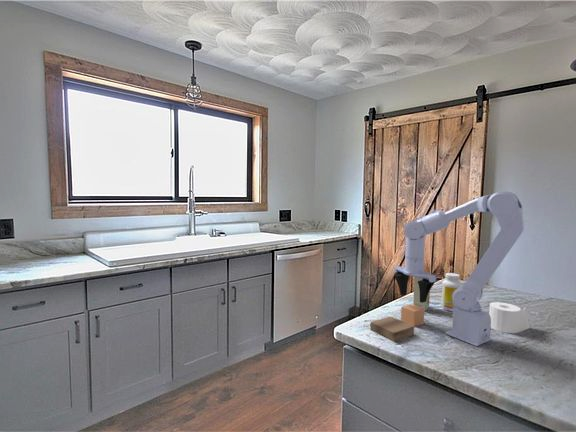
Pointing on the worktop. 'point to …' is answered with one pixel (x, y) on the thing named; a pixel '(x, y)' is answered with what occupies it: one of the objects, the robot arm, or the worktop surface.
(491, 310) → the toilet paper
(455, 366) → the worktop surface
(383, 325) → the walnut block
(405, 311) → the orange cube
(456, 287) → the supplement bottle
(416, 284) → the skincare box
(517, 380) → the worktop surface
